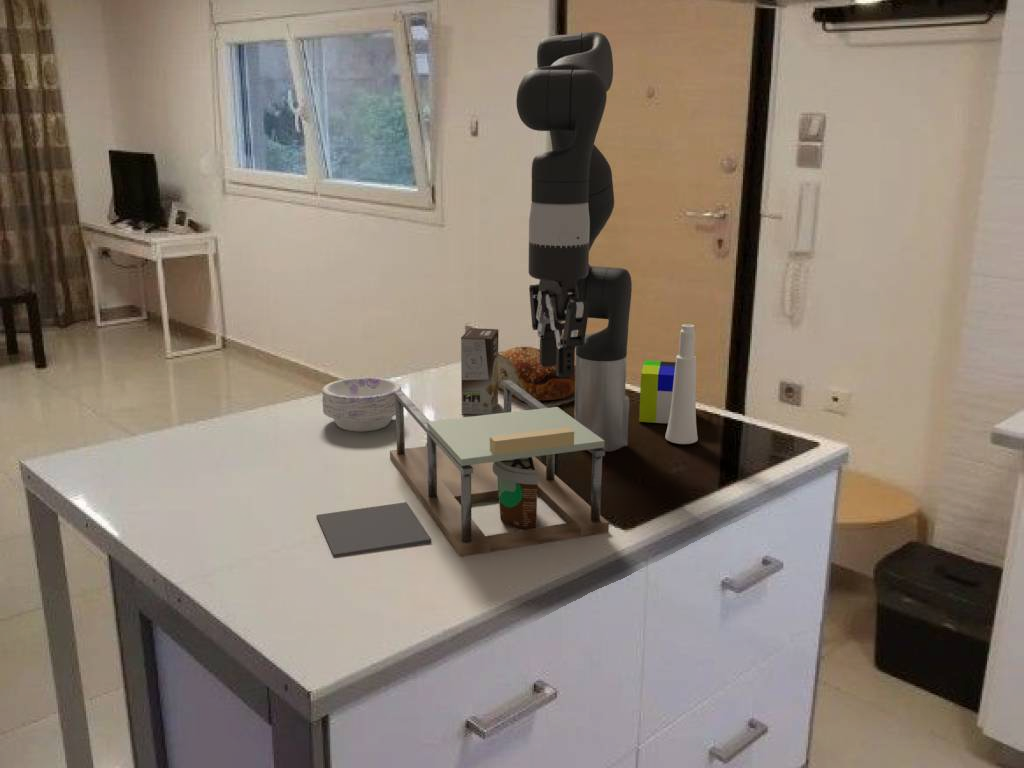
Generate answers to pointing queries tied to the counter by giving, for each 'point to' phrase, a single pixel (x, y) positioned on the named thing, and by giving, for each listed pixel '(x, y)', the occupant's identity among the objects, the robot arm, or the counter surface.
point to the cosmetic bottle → (684, 392)
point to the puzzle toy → (656, 391)
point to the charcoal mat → (372, 529)
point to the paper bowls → (360, 403)
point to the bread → (533, 374)
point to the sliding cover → (512, 435)
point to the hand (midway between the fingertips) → (556, 370)
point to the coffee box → (479, 371)
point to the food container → (517, 492)
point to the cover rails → (467, 470)
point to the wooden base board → (486, 488)
